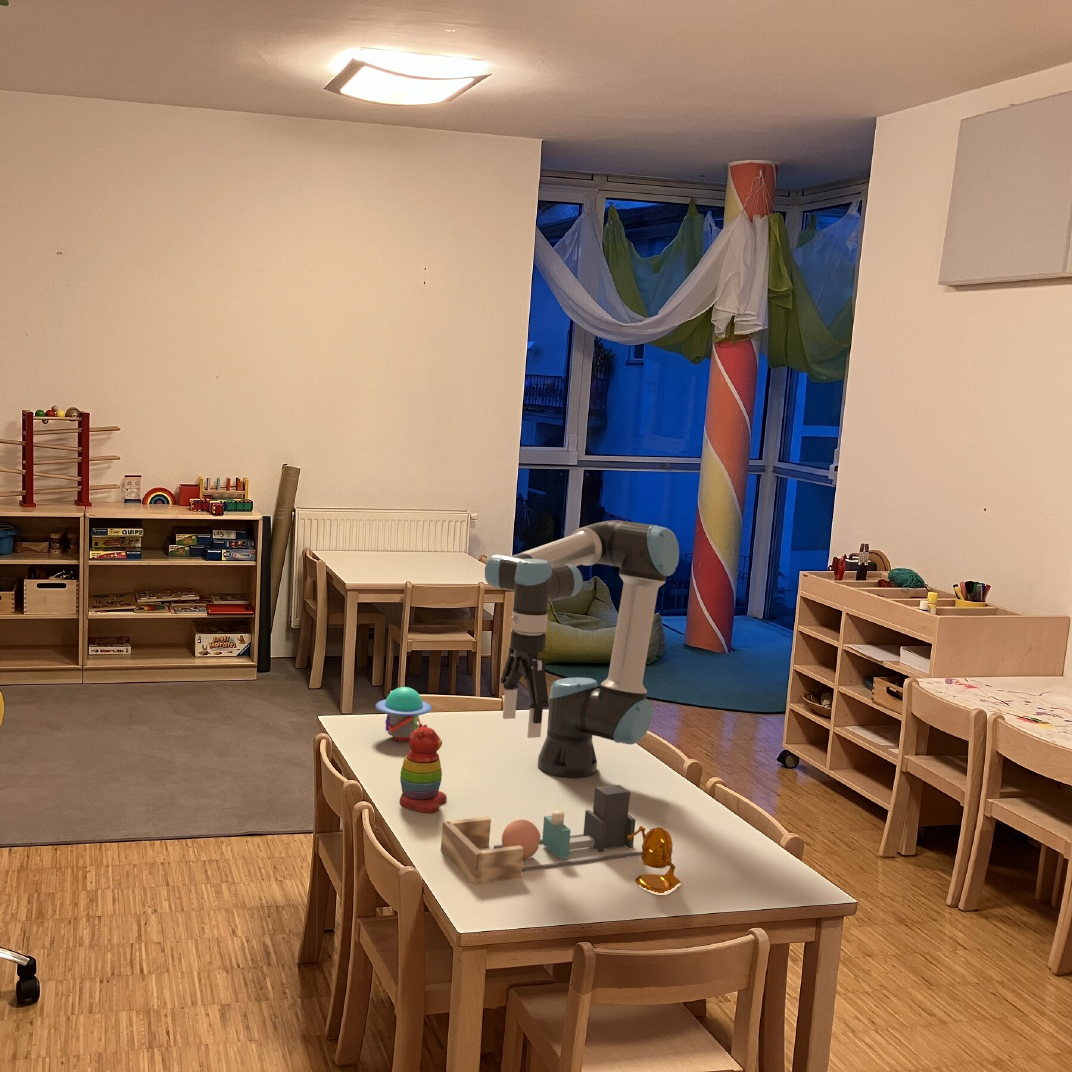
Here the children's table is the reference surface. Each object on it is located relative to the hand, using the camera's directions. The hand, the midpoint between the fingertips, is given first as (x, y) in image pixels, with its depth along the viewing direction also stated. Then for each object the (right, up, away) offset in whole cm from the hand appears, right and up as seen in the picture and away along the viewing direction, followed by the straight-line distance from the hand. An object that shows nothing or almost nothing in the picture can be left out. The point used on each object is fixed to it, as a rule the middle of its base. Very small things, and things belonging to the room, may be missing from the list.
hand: (521, 727), depth 249 cm
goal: (-8, -25, -17) cm, 31 cm away
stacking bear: (-23, -20, +13) cm, 33 cm away
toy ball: (0, -25, -13) cm, 28 cm away
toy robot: (-33, -13, +58) cm, 68 cm away
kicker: (+15, -24, -5) cm, 29 cm away
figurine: (+27, -28, -21) cm, 44 cm away
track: (+10, -25, -8) cm, 28 cm away
